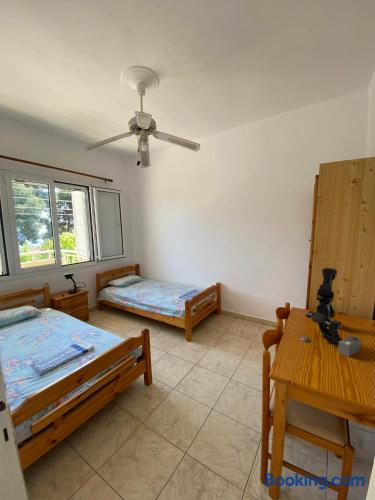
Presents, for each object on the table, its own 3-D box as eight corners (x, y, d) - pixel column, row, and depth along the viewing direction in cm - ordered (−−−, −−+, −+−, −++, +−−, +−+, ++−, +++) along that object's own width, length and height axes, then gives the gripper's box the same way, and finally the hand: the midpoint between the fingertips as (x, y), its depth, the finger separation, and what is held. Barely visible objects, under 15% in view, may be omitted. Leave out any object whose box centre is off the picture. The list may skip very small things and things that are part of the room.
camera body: (349, 344, 120) (350, 333, 119) (360, 349, 115) (361, 338, 114) (336, 351, 114) (337, 339, 113) (348, 356, 109) (349, 345, 108)
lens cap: (303, 337, 129) (303, 335, 128) (311, 341, 124) (311, 339, 124) (298, 339, 126) (298, 337, 126) (306, 343, 122) (306, 341, 122)
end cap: (334, 346, 120) (343, 338, 117) (322, 337, 122) (330, 329, 119) (332, 337, 128) (340, 330, 126) (321, 329, 131) (329, 322, 128)
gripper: (300, 305, 129) (299, 328, 131) (333, 317, 112) (330, 343, 115) (311, 302, 134) (310, 324, 136) (344, 313, 117) (341, 338, 120)
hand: (322, 332), depth 126 cm, fingers closed
